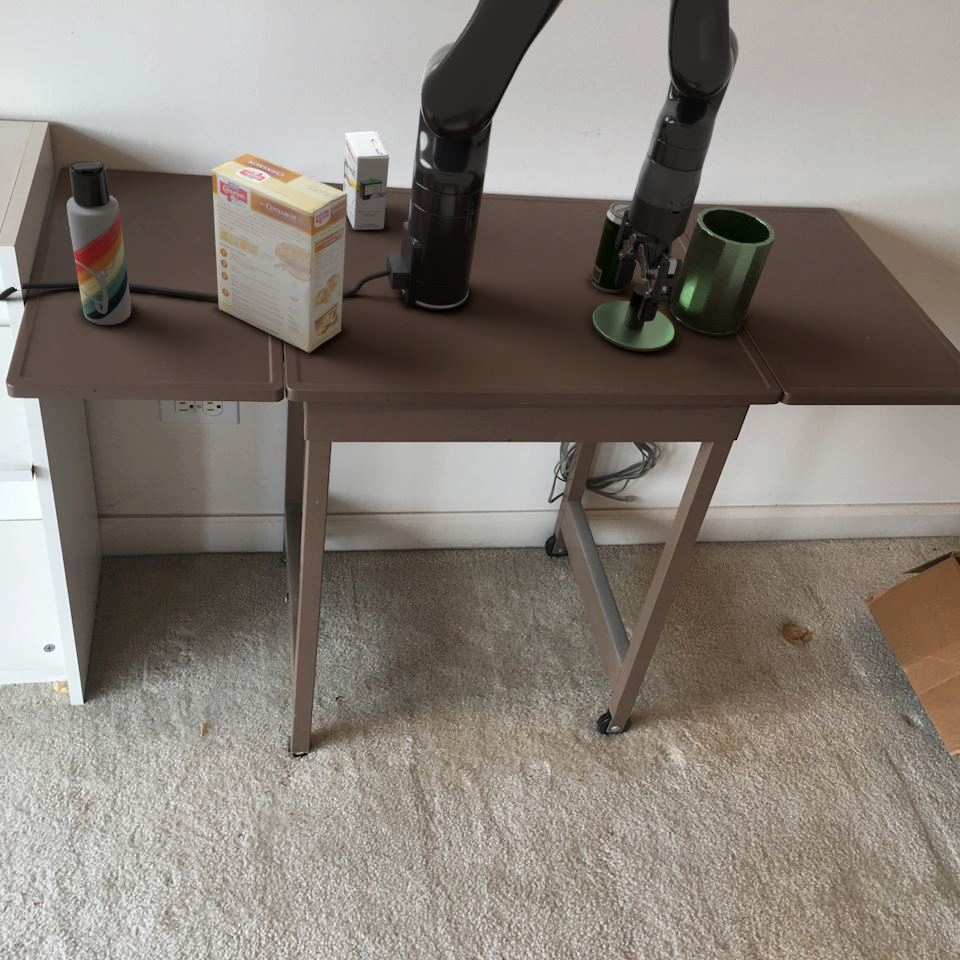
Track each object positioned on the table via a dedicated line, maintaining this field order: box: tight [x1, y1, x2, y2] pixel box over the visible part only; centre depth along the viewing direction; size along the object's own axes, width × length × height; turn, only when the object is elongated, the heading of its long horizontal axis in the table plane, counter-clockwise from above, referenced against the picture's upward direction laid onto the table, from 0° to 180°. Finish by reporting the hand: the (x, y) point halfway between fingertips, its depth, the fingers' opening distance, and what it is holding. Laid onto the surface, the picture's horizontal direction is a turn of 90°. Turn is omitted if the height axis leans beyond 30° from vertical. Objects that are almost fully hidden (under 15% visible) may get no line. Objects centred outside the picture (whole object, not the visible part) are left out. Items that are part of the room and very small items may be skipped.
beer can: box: [590, 201, 631, 294], centre depth 141 cm, size 5×5×12 cm
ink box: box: [342, 130, 390, 231], centre depth 146 cm, size 8×5×12 cm, turn 18°
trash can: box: [669, 206, 776, 337], centre depth 138 cm, size 11×11×14 cm
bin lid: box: [591, 284, 675, 353], centre depth 135 cm, size 12×12×7 cm
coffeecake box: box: [211, 152, 347, 354], centre depth 120 cm, size 15×7×20 cm, turn 59°
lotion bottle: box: [66, 160, 132, 326], centre depth 116 cm, size 6×6×20 cm
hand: (633, 302), depth 133 cm, fingers open, 8 cm apart
